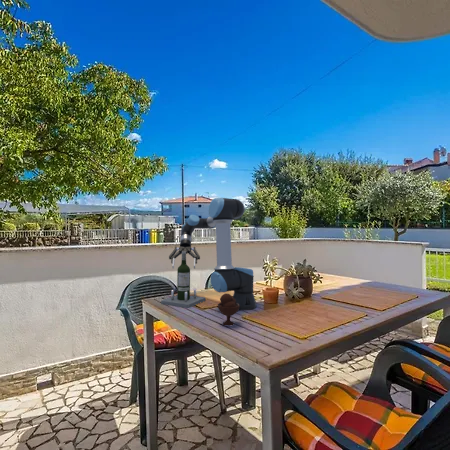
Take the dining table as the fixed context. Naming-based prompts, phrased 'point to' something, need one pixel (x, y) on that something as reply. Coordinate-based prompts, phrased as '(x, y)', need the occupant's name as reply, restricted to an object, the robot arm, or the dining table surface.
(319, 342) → the dining table surface
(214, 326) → the dining table surface
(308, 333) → the dining table surface
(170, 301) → the peg stand
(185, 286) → the wine bottle
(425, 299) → the dining table surface
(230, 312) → the ice cream bowl
